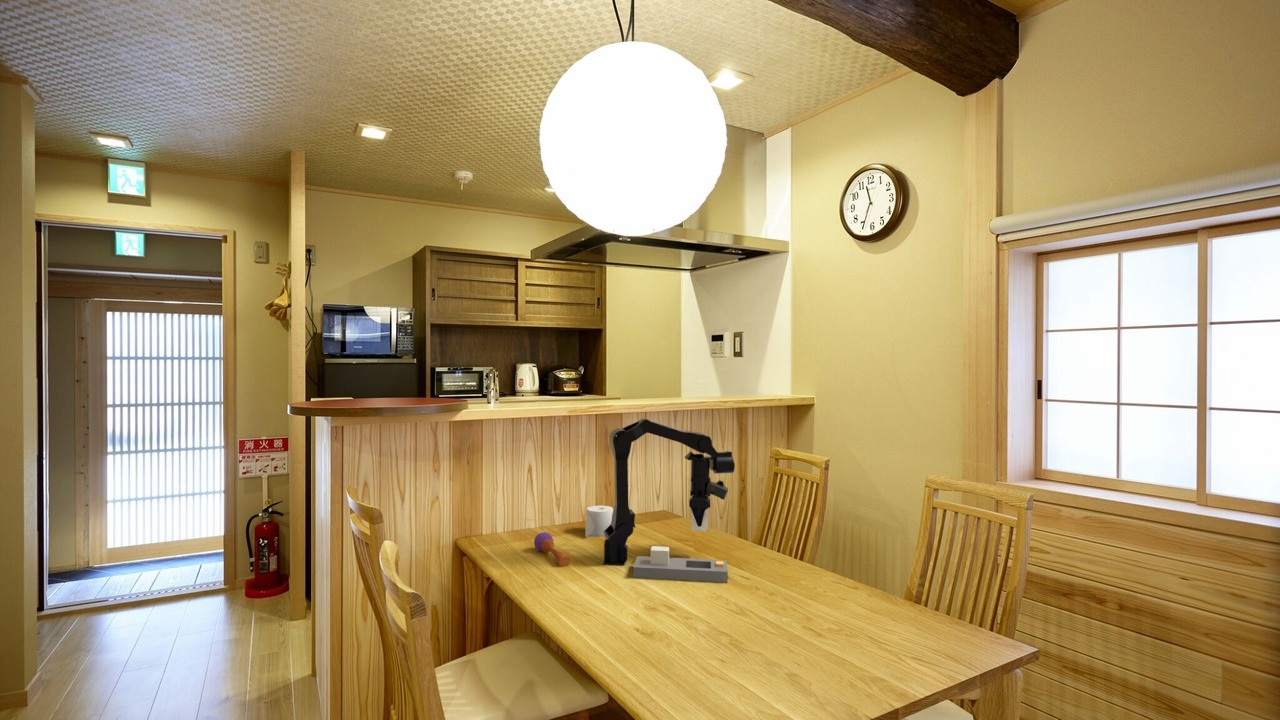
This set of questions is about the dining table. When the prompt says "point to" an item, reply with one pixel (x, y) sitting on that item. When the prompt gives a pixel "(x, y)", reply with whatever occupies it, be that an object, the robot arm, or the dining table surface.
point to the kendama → (550, 548)
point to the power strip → (679, 567)
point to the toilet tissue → (597, 520)
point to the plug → (704, 523)
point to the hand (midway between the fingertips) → (699, 524)
